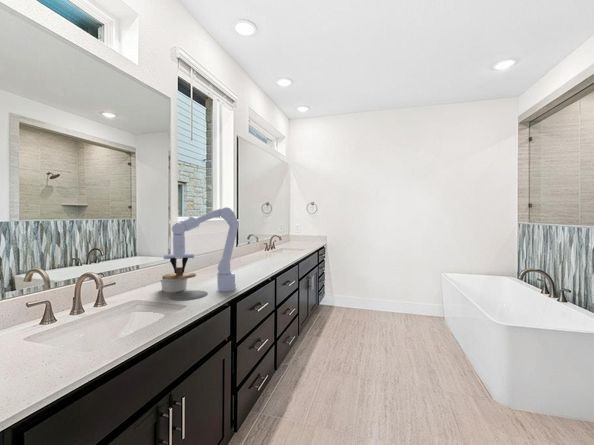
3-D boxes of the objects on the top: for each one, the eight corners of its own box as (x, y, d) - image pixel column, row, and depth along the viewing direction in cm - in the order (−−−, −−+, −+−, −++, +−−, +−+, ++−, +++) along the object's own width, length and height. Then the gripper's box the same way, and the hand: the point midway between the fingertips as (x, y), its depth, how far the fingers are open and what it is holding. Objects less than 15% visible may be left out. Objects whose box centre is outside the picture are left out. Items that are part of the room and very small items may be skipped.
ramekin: (181, 294, 145) (181, 280, 145) (155, 294, 145) (155, 280, 145) (191, 287, 158) (191, 275, 158) (168, 287, 159) (167, 275, 158)
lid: (197, 273, 157) (197, 264, 157) (194, 278, 141) (194, 268, 141) (165, 275, 153) (165, 266, 153) (159, 280, 137) (159, 270, 137)
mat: (209, 290, 151) (208, 289, 151) (206, 300, 134) (206, 299, 134) (172, 292, 147) (172, 291, 147) (165, 303, 129) (165, 302, 129)
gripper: (162, 247, 141) (162, 274, 141) (193, 246, 145) (193, 273, 145) (165, 246, 148) (165, 272, 148) (194, 245, 151) (194, 270, 152)
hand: (179, 272), depth 147 cm, fingers closed on lid, 3 cm apart
